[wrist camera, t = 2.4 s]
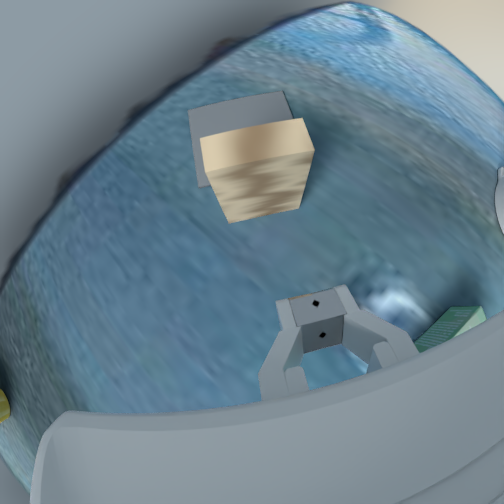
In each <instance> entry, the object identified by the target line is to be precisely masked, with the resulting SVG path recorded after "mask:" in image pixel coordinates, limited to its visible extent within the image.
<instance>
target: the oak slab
mask: <svg viewBox="0 0 504 504" xmlns="http://www.w3.org/2000/svg"><path fill="white" fill-rule="evenodd" d="M200 143H201V150H202V156H203V162H204V168H205V173H206V175H207V177H208V180H209V182H210V184H211V186H212V188H213V190H214V192H215V195H216V197H217V199H218V201H219V203H220V205H221V207H222V209H223V212H224V214H225V216H226V218H227V220H228V222H229V223H233V222H237V221H242V220H246V219H251V218H255V217H260V216H265V215H269V214H274V213H279V212H283V211H288V210H293V209H298V208H299V206H300V203H301V199H302V196H303V192H304V188H305V185H306V181H307V177H308V174H309V170H310V166H311V162H312V159H313V155H314V151H315V150H314V147H313V144H312V142H311V139H310V136H309V134H308V131H307V128H306V126H305V123H304V121H303V118H299V119H292V120H285V121H279V122H273V123H267V124H262V125H256V126H251V127H246V128H241V129H237V130H232V131H228V132H223V133H219V134H215V135H211V136H206V137H203V138H200Z"/></svg>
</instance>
